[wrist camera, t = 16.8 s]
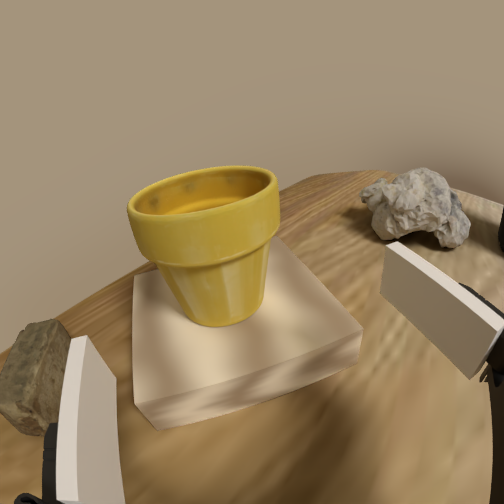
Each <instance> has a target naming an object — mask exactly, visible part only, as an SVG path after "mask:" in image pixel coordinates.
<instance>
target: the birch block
mask: <svg viewBox="0 0 504 504" xmlns="http://www.w3.org/2000/svg"><path fill="white" fill-rule="evenodd" d="M362 333H363V328H362V326H361V325H360V324H359V323H358V322H357V321H356V320H355V319H354V318H353V317H352V315H351V314H350V313H349V312H348V311H347V310H346V309H345V308H344V307H343V306H342V304H341V303H340V302H339V301H338V300H337V299H336V298H335V297H334V296H333V295H332V294H331V293H330V291H329V290H328V289H327V288H326V287H325V286H324V285H323V284H322V283H321V282H320V281H319V280H318V279H317V277H316V276H315V275H314V274H313V273H312V272H311V271H310V270H309V269H308V268H307V267H306V266H305V265H304V264H303V263H302V262H301V260H300V259H299V258H298V257H297V256H296V255H295V254H294V253H293V252H292V251H291V250H290V249H289V248H288V247H287V246H286V245H285V244H284V243H283V242H282V241H281V239H280V238H279V237H278V236H275V237H272V238H271V242H270V249H269V257H268V265H267V273H266V280H265V289H264V297H263V301H262V303H261V305H260V307H259V308H258V310H257V311H256V312H255V313H254V314H253V315H251V316H250V317H249V318H247V319H245V320H243V321H241V322H239V323H236V324H233V325H229V326H224V327H208V326H203V325H200V324H198V323H196V322H194V321H192V320H191V319H190V318H189V317H188V316H187V315H186V314H185V312H184V311H183V309H182V307H181V306H180V304H179V302H178V301H177V299H176V298H175V296H174V294H173V293H172V291H171V289H170V288H169V286H168V284H167V283H166V281H165V279H164V278H163V276H162V274H161V273H160V271H159V269H156V270H152V271H149V272H145V273H142V274H138V275H135V276H134V288H133V316H132V361H133V387H134V404H135V405H136V406H137V407H138V409H139V410H140V411H141V412H142V413H143V415H144V416H145V417H146V418H147V419H148V420H149V422H150V423H151V424H152V425H153V426H154V427H155V428H156V430H157V431H158V430H163V429H168V428H173V427H177V426H182V425H186V424H190V423H194V422H198V421H202V420H206V419H210V418H213V417H217V416H221V415H224V414H227V413H231V412H234V411H237V410H241V409H244V408H247V407H250V406H253V405H256V404H259V403H262V402H265V401H268V400H271V399H273V398H276V397H279V396H282V395H284V394H287V393H289V392H292V391H295V390H297V389H300V388H302V387H305V386H307V385H310V384H312V383H314V382H317V381H319V380H321V379H324V378H326V377H328V376H331V375H333V374H335V373H337V372H339V371H342V370H344V369H346V368H348V367H350V366H352V365H354V364H356V363H357V360H358V355H359V350H360V345H361V339H362Z"/></svg>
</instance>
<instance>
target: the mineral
mask: <svg viewBox="0 0 504 504" xmlns="http://www.w3.org/2000/svg"><path fill="white" fill-rule="evenodd" d="M359 196H360V197H361V201H362V203H367V205H368V209H369V210H370V211H372V212H373V214H374V215H373V217H372V224H371V225H372V228H373V229H374V230H375V232H376V234H377V235H378V236H379V237H380V238H381V239H382V240H392V239H393V238H397V239H399V238H400V237H401V236H403V235H406V234H408V233H411V232H413V231H419V230H426V231H427V232H431V231H434V235H435V237H437V238H438V239H439V242H440V246H441V247H445V246H447V247H448V248H455V247H457V246H460V245H461V244H462V243H463V241H464V240H465V239H467V238H468V235H469V229H470V226H471V223H470V221H469V219H468V218H467V216H466V215H465V214H464V212H463V211H461V202H460V201H459V199H458V196H457V193H456V192H455V191H453V190H452V189H450V187H449V185H448V183H447V182H446V180H445V178H443V177H442V176H441V175H439V174H438V173H436V172H434V171H431V170H429V169H427V168H417V169H414V170H410V171H409V172H407V173H405V174H402V175H399V176H397V177H396V178H395V179H394V180H393V182H392V183H391V184H387V181H386V179H383V178H380V179H378V180H377V181H376V182H375V183H374V184H373V185H370V186H368V187H365V188H363V189H362V190H361V192H360V193H359Z"/></svg>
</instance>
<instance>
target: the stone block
mask: <svg viewBox="0 0 504 504" xmlns="http://www.w3.org/2000/svg"><path fill="white" fill-rule="evenodd" d="M70 343H71V339H70V336H69V334H68V333H67V331H66V330H65V328H64V326H63V325H62V324H61V323H60V322H59V321H58V320H55V319H50V320H47V321H43V322H38V323H30V324H28V325H27V326H26V328H25V330H22V331H21V332H20V333H19V335H18V337H17V339H16V342H15V343H14V344H13V346H12V349H11V351H10V353H9V355H8V357H7V359H6V362H5V364H4V366H3V369H2V371H1V373H0V413H1V414H2V415H3V416H4V417H5V418H6V419H7V420H8V421H9V422H10V423H11V424H12V425H13V426H14V427H15V428H16V429H17V430H18V431H19V432H21V433H24V434H26V435H32V436H39V435H41V436H45V433H46V431H47V428H48V426H49V424H50V423H56V422H58V421H59V412H60V403H61V395H62V388H63V382H64V375H65V369H66V364H67V358H68V353H69V348H70Z"/></svg>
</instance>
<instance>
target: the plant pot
mask: <svg viewBox="0 0 504 504" xmlns="http://www.w3.org/2000/svg"><path fill="white" fill-rule="evenodd" d="M127 213H128V217H129V221H130V225H131V228H132V231H133V234H134V237H135V240H136V242H137V245H138V248H139V250H140V252H141V253H142V255H143V256H144V257H145V258H147V259H148V260H150V261H151V262H154V263H155V264H156V266H157V268H158V269H159V271H160V273H161V274H162V276H163V278H164V279H165V281H166V283H167V284H168V286H169V288H170V289H171V291H172V293H173V294H174V296H175V298H176V299H177V301H178V302H179V304H180V306H181V307H182V309H183V311H184V312H185V314H186V315H187V316H188V317H189V318H190V319H191V320H192V321H194V322H196V323H198V324H200V325H203V326H208V327H224V326H229V325H233V324H236V323H239V322H241V321H243V320H245V319H247V318H249V317H250V316H251V315H253V314H254V313H255V312H256V311H257V310H258V308H259V307H260V305H261V303H262V301H263V297H264V289H265V280H266V273H267V265H268V257H269V249H270V242H271V238H272V237H273V236H274V235H275V233H276V232H277V230H278V228H279V224H280V201H279V190H278V181H277V178H276V176H275V174H273V173H272V172H271V171H269V170H267V169H263V168H259V167H253V166H221V167H212V168H206V169H200V170H196V171H190V172H187V173H182V174H179V175H175V176H172V177H170V178H167V179H164V180H161V181H159V182H156V183H154V184H152V185H150V186H148V187H146V188H145V189H142V190H141V191H139V192H138V193H137V194H135V195H134V196H133V197H132V198H131V199H130V201H129V202H128V205H127Z"/></svg>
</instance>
